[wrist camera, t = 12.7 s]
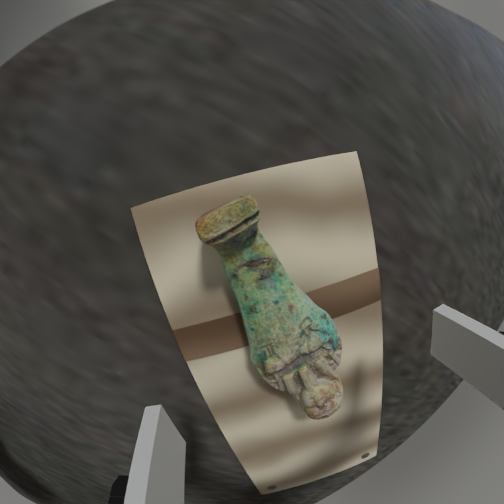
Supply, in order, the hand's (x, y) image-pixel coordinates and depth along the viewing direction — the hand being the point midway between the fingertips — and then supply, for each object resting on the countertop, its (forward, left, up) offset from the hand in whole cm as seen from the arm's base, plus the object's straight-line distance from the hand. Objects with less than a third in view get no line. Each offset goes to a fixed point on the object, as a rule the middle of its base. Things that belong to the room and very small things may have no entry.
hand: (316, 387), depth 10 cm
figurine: (+1, 0, -7) cm, 7 cm away
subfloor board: (-7, 0, -8) cm, 10 cm away
